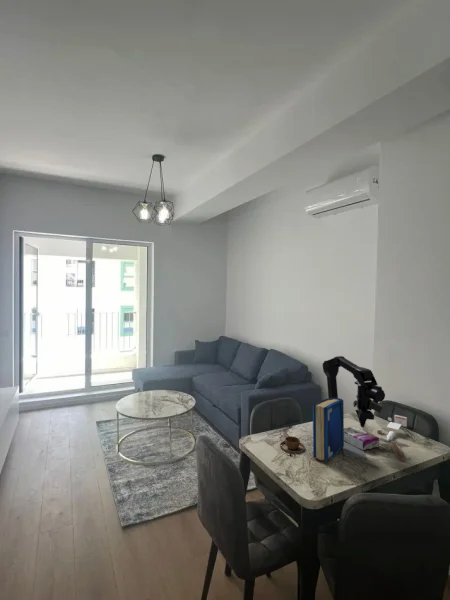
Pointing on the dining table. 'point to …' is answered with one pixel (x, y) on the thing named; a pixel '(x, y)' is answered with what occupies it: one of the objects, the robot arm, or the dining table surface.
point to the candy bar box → (360, 438)
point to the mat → (353, 451)
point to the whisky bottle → (394, 425)
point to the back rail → (398, 452)
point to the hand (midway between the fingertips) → (362, 426)
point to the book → (328, 428)
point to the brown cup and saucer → (292, 444)
